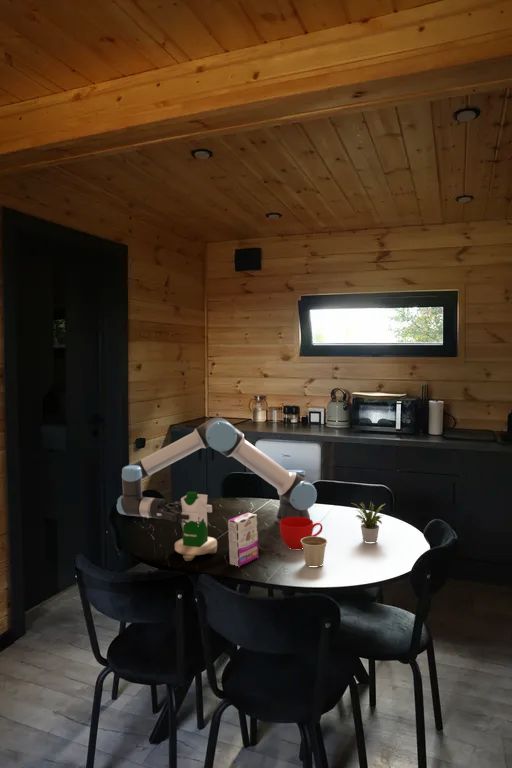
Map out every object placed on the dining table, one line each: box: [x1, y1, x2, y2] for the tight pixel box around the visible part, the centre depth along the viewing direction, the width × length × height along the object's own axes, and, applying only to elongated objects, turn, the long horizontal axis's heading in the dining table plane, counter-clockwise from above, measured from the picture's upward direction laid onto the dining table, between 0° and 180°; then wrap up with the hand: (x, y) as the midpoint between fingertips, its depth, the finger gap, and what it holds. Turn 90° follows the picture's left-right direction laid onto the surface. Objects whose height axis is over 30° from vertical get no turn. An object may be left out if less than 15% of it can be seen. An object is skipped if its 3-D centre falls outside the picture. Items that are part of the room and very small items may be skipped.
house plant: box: [351, 500, 386, 543], centre depth 207 cm, size 14×14×16 cm
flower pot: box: [301, 535, 328, 567], centre depth 186 cm, size 9×9×9 cm
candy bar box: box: [227, 512, 260, 568], centre depth 190 cm, size 11×5×16 cm, turn 139°
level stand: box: [174, 536, 218, 562], centre depth 199 cm, size 16×16×4 cm
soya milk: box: [180, 490, 209, 547], centre depth 198 cm, size 9×9×20 cm
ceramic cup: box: [279, 517, 323, 550], centre depth 203 cm, size 13×17×10 cm
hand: (204, 513), depth 197 cm, fingers open, 11 cm apart
